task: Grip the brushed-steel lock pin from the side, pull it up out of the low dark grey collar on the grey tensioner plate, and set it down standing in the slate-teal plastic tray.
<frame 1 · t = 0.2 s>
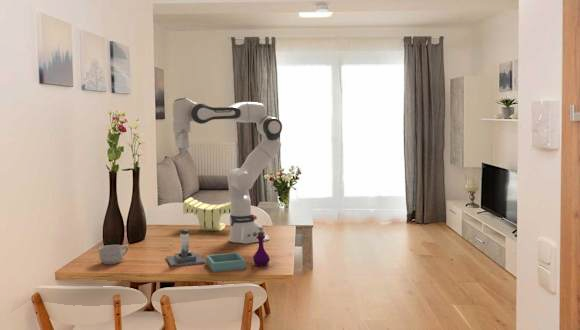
hand: (182, 155, 309), 48 cm above the table, tool pointing down, fingers open, 8 cm apart
teacup: (114, 262, 282), on the table
lock pin: (185, 259, 283), point 1 cm above the table, touching tensioner plate
tensioner plate: (185, 261, 283), on the table
slatted curved stool: (212, 229, 355), on the table
perfume bottle: (261, 265, 274), on the table
tray: (225, 266, 273), on the table
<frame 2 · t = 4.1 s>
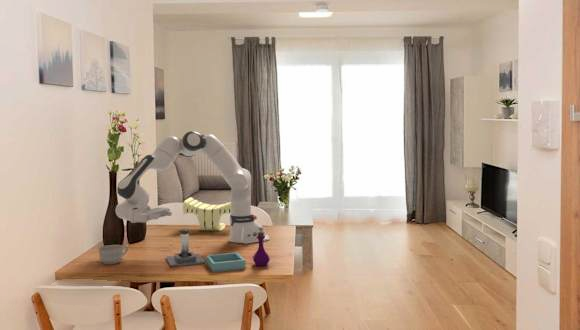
hand: (164, 215, 286), 21 cm above the table, tool horizontal, fingers open, 8 cm apart
nothing on the table moved.
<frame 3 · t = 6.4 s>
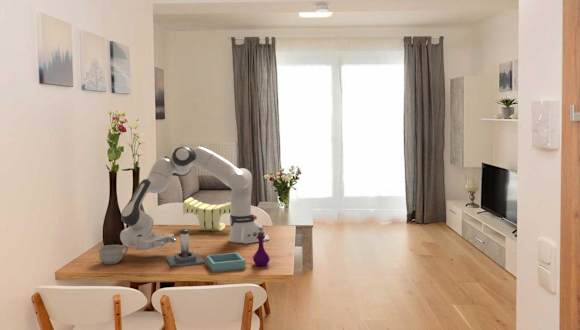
hand: (169, 242, 286), 8 cm above the table, tool horizontal, fingers open, 8 cm apart
nothing on the table moved.
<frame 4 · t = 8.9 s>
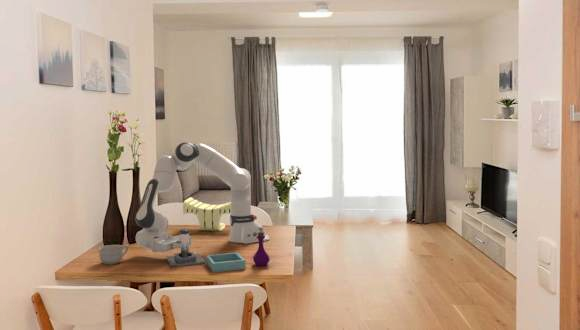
hand: (186, 244, 281), 8 cm above the table, tool horizontal, fingers closed on lock pin, 4 cm apart
lock pin: (185, 259, 283), point 1 cm above the table, touching gripper, tensioner plate
everything else where it was.
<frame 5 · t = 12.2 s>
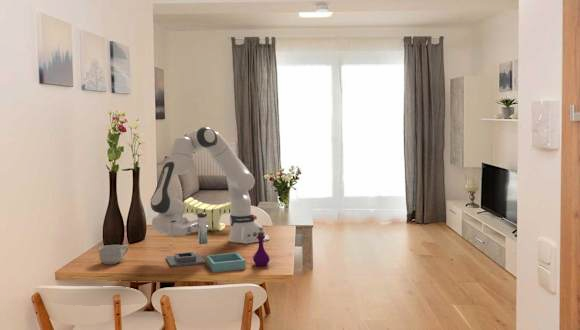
hand: (204, 228, 274), 17 cm above the table, tool horizontal, fingers closed on lock pin, 4 cm apart
lock pin: (203, 243, 275), point 10 cm above the table, touching gripper
everything else where it was.
when the fingers open (9 cm above the table, at t = 15.4 s): lock pin drops 1 cm, resting on tray.
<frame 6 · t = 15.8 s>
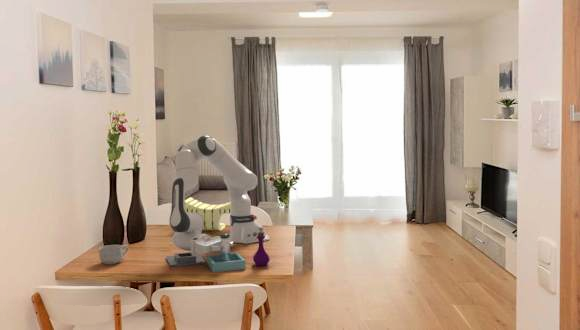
hand: (226, 246, 272), 9 cm above the table, tool horizontal, fingers open, 8 cm apart
lock pin: (225, 264, 273), point 1 cm above the table, touching tray
everything else where it was.
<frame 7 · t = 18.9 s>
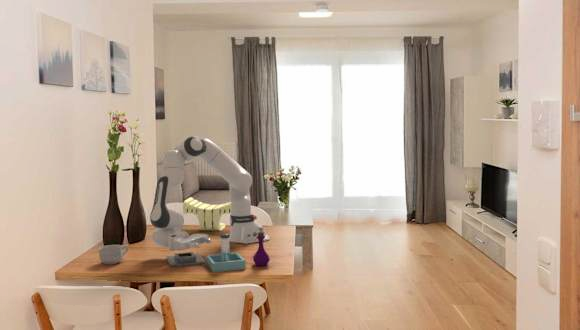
hand: (204, 243, 278), 10 cm above the table, tool horizontal, fingers open, 8 cm apart
nothing on the table moved.
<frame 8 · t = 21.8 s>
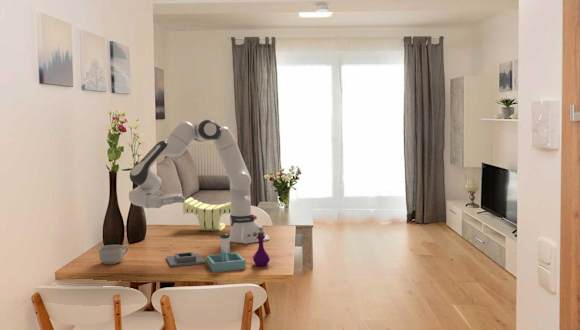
hand: (178, 201, 286), 28 cm above the table, tool horizontal, fingers open, 8 cm apart
nothing on the table moved.
at the end: lock pin inside the target area on the tray (0.0 cm from its centre), point 1.0 cm above the tray's base; the gripper is holding nothing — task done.
